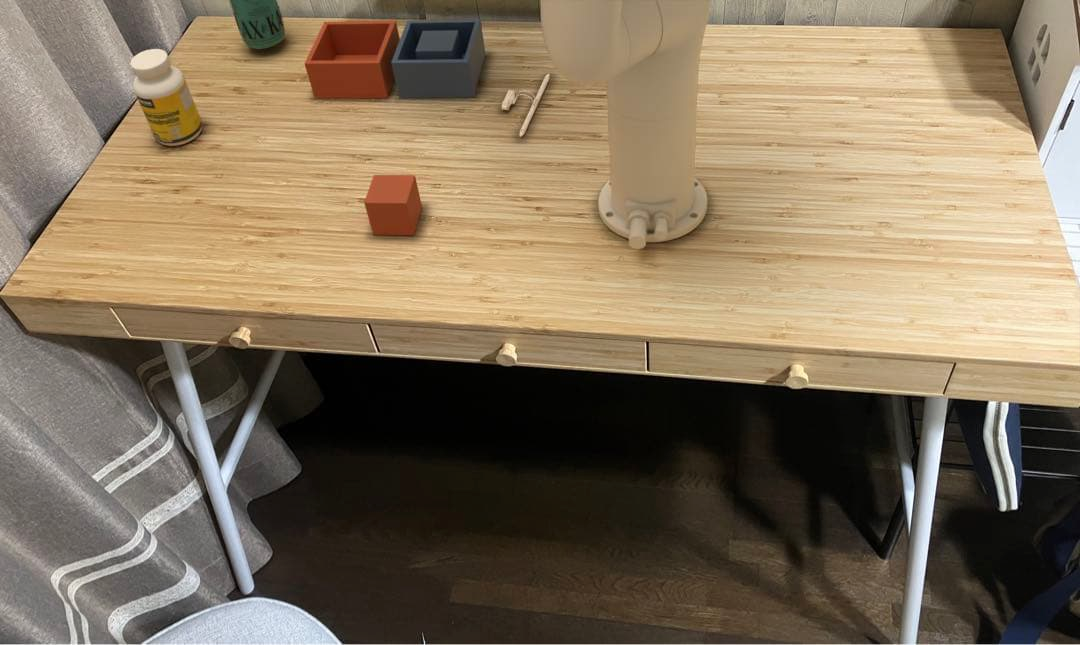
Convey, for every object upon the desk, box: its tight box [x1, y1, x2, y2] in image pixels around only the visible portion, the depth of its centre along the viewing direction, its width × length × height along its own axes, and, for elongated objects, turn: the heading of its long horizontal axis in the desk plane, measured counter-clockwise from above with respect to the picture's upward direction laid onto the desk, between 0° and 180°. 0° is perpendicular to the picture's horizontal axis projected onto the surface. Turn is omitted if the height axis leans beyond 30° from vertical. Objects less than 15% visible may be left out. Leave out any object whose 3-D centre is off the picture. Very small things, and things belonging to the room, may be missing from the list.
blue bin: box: [391, 18, 486, 99], centre depth 138 cm, size 10×10×6 cm
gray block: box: [416, 30, 463, 60], centre depth 138 cm, size 5×5×5 cm
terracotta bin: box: [304, 20, 401, 99], centre depth 140 cm, size 10×10×6 cm
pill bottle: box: [130, 48, 203, 147], centre depth 132 cm, size 6×6×12 cm
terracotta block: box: [364, 174, 423, 236], centre depth 118 cm, size 5×5×5 cm
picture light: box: [501, 73, 551, 138], centre depth 133 cm, size 14×4×2 cm, turn 165°
